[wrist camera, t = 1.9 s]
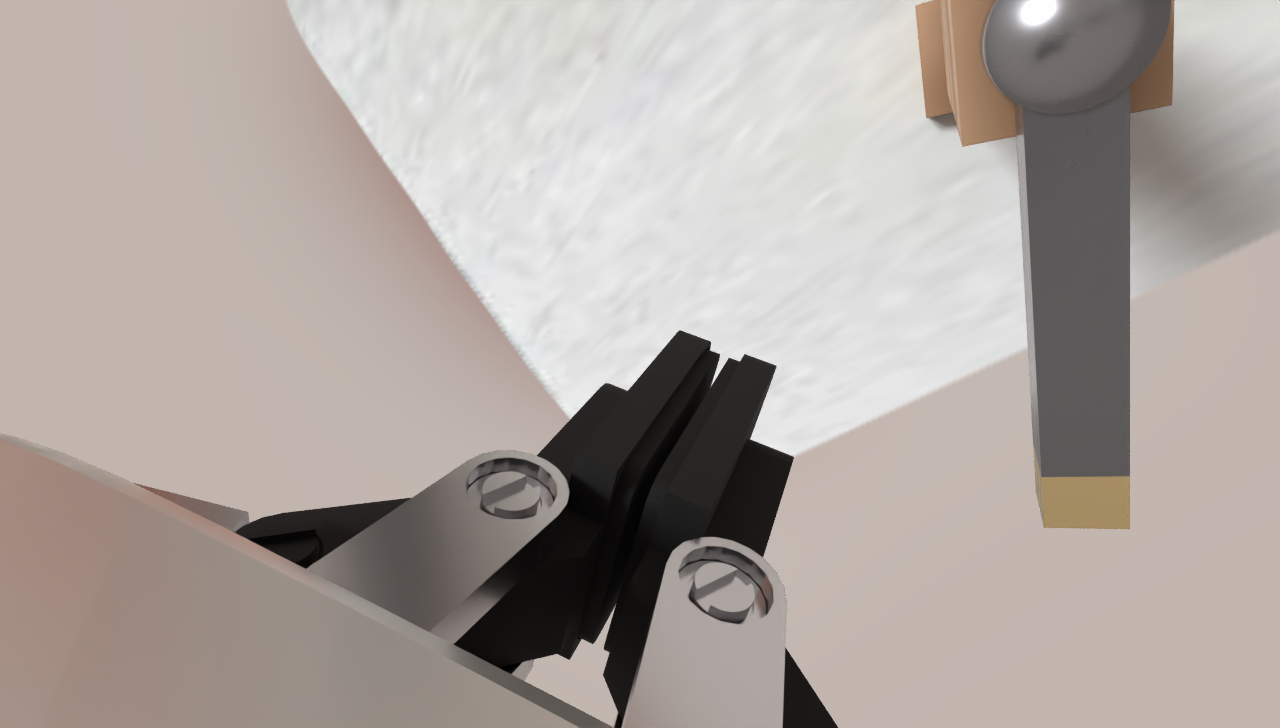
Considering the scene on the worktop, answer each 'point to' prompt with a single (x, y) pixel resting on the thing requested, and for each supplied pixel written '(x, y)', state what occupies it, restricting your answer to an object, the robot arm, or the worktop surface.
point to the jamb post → (969, 92)
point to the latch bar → (1076, 234)
